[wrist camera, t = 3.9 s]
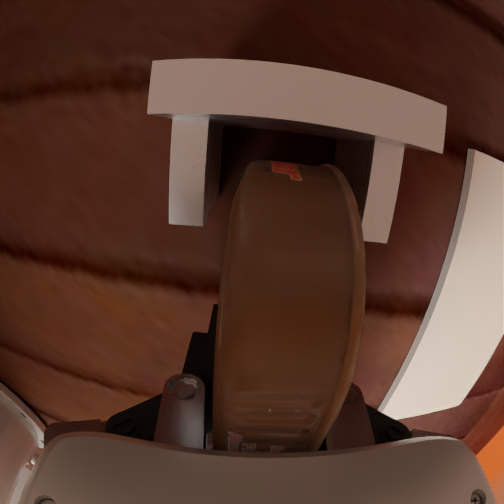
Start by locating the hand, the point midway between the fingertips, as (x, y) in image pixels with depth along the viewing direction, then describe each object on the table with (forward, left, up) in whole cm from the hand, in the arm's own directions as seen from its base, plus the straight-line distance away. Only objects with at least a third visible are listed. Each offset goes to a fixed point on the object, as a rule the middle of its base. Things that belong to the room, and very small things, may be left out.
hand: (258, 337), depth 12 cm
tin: (0, 0, -2) cm, 2 cm away
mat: (0, -14, -2) cm, 14 cm away
